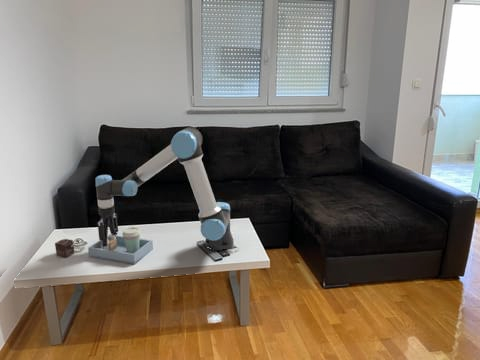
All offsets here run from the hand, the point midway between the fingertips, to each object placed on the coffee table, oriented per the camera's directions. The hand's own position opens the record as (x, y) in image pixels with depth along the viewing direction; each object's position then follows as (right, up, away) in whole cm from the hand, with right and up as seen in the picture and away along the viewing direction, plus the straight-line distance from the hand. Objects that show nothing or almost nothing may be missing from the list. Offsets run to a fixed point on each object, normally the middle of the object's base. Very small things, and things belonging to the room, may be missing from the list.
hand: (110, 248), depth 194 cm
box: (-21, -3, -3) cm, 22 cm away
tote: (+6, -2, -2) cm, 7 cm away
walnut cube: (0, 0, 0) cm, 0 cm away
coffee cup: (+12, -1, -3) cm, 13 cm away
